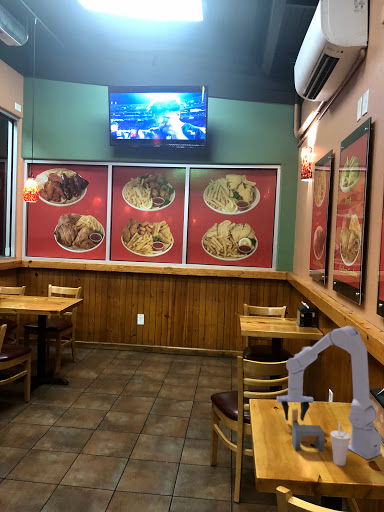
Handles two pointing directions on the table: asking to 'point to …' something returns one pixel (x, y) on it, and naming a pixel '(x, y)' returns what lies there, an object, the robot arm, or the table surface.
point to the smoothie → (339, 446)
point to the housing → (307, 431)
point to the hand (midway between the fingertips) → (294, 419)
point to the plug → (295, 422)
